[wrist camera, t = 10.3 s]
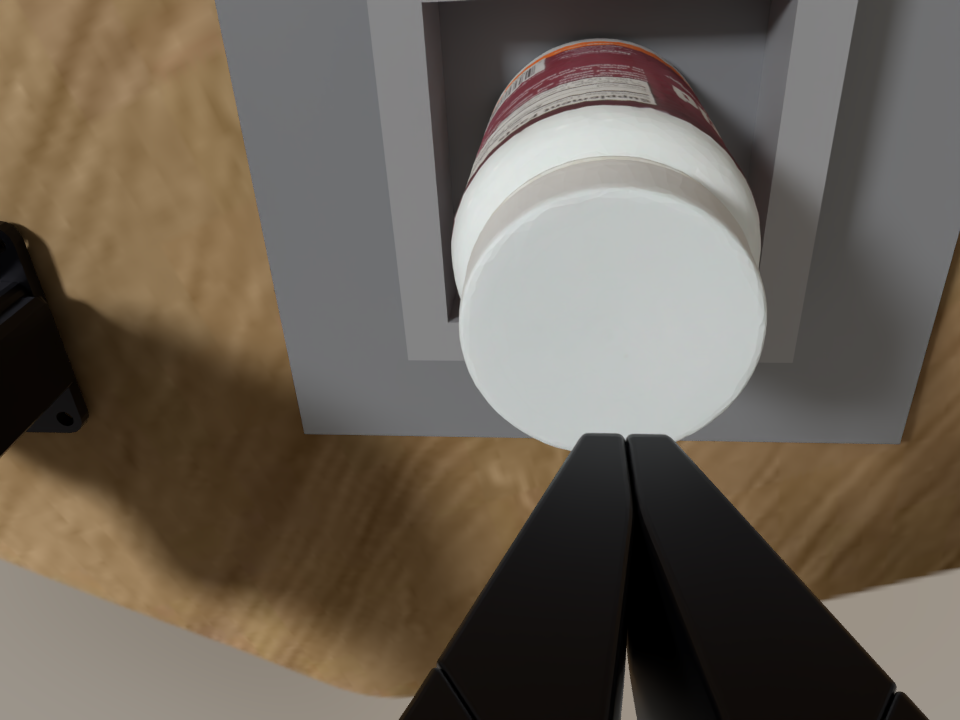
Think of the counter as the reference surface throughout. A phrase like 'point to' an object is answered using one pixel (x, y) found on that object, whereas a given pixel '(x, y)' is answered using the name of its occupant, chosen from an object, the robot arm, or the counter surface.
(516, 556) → the robot arm
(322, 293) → the bottle stand
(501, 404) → the pill bottle
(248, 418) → the counter surface
